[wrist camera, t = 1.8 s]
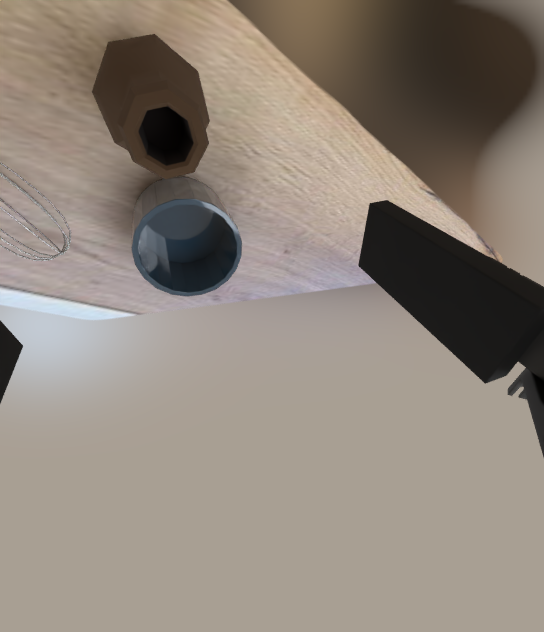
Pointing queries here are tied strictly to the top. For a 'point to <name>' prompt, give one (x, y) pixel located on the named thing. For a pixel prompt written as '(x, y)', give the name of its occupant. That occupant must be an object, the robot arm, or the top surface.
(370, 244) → the robot arm
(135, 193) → the top surface
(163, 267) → the metal cup
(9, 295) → the top surface
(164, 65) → the beer bottle
